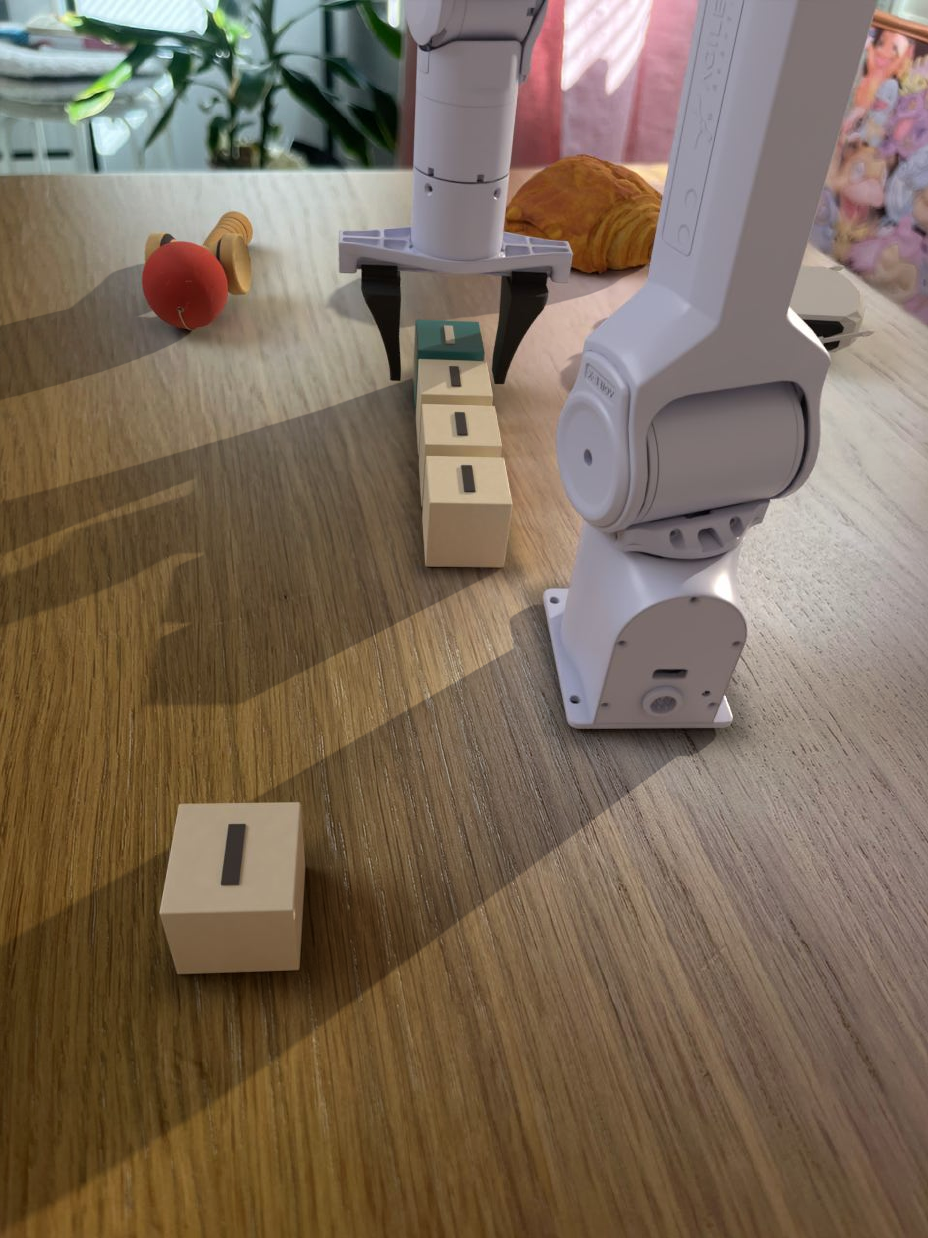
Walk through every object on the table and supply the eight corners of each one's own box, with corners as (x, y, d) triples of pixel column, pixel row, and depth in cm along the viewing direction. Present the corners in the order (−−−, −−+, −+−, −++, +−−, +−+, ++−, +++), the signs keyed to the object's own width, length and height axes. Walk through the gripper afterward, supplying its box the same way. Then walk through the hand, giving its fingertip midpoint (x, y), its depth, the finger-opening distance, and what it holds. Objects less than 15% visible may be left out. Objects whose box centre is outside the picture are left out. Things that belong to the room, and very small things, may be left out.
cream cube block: (486, 456, 60) (493, 394, 57) (418, 455, 59) (421, 392, 56) (480, 420, 63) (486, 359, 60) (415, 418, 62) (418, 357, 59)
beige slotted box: (299, 971, 34) (293, 908, 31) (176, 975, 34) (158, 912, 31) (305, 865, 37) (300, 799, 34) (193, 868, 37) (178, 801, 34)
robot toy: (667, 368, 72) (866, 379, 71) (676, 312, 69) (884, 323, 68) (660, 300, 81) (837, 309, 80) (668, 248, 78) (852, 257, 77)
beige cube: (503, 568, 52) (513, 502, 49) (425, 567, 51) (429, 501, 48) (496, 519, 55) (504, 455, 52) (422, 518, 54) (425, 453, 51)
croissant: (581, 227, 95) (588, 140, 91) (694, 262, 85) (709, 167, 81) (467, 246, 88) (469, 154, 84) (575, 287, 78) (584, 185, 74)
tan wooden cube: (494, 508, 56) (502, 444, 53) (421, 507, 55) (425, 442, 52) (487, 466, 59) (495, 404, 56) (418, 465, 58) (421, 401, 55)
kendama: (184, 257, 81) (113, 322, 66) (191, 181, 77) (118, 232, 63) (272, 282, 82) (221, 352, 67) (283, 208, 78) (232, 264, 64)
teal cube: (478, 411, 64) (484, 350, 61) (414, 409, 63) (417, 348, 60) (473, 378, 67) (479, 319, 64) (412, 376, 66) (415, 317, 63)
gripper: (571, 151, 58) (542, 351, 68) (339, 137, 57) (342, 343, 66) (590, 191, 53) (556, 401, 63) (336, 177, 52) (339, 394, 61)
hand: (446, 375), depth 64 cm, fingers open, 6 cm apart
